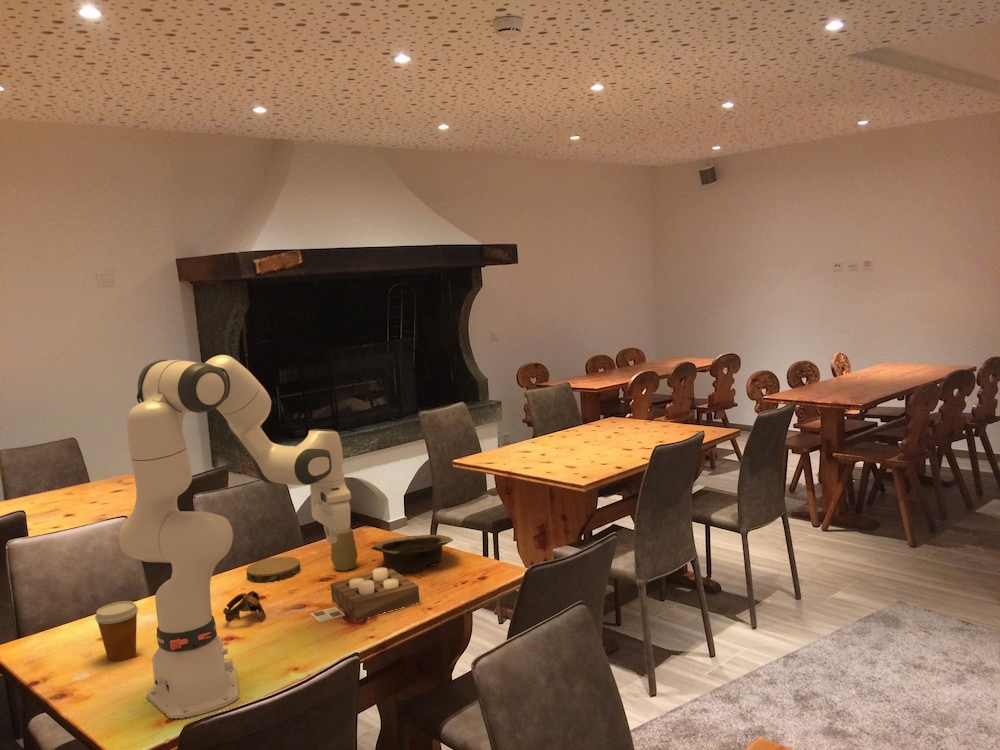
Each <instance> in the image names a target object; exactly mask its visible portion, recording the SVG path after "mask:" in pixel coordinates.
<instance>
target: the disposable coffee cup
mask: <svg viewBox="0 0 1000 750" xmlns="http://www.w3.org/2000/svg"><path fill="white" fill-rule="evenodd" d="M138 611H139V607H138V606H137V604H136V602H134V601H130V600H129V601H128V600H126V601H117V602H113V603H108V604H106V605H103V606H101V607H100V608H98V609H97V610H96V614H95V617H94V620H95V621H96V623H97V624H98V625H97V626H98V628H99V632H100V637H101V638H102V639H101V640H102V643H103V646H104V649H105V654H106V657H107V660H108V661H109V660H110V662H121V661H124V660H129V659H130V658H132V657H133V656H135V655H136V654H137V621H138V620H137V615H138Z"/></svg>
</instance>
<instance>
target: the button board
mask: <svg viewBox="0 0 1000 750" xmlns="http://www.w3.org/2000/svg"><path fill="white" fill-rule="evenodd" d="M387 572H388V579H398V584H399V586H398V587H395V588H391V589H387V590H386V589H384V585H383V581H380V582H377V583H376V582H374V580H373V572H371V573H367V574H364V575H359V576H356V577H351V578H348V579H344V580H340V581H334V582H331V583H330V595H331V602H332V601H333V602H332V603H334V602H335V603H336V604H337V605H338V606H339V608H340V609H341V608H342V609H343V610H344V611H343V610H342V609H341V610H342V611H343V612H344V613H346V614H347V615H348V614H349V615H350V616H349V615H348V616H349V617H350V618H352V619H353V620H354V621H355V620H356V621H355V622H359V620H360V621H362V620H361V619H363V620H367V619H369V618H368V617H370V618H373V617H372V616H374V617H376V616H375V615H378V614H381V615H383V614H382V613H384V612H388V611H391V610H395V609H399V608H402V607H406V606H409V605H412V604H416V603H419V602H420V603H421V601H420V591H419V590H420V589H419V585H418V584H417V583H415V582H414V581H412V580H410V579H409V578H407V577H405V576H404V575H402V573H401V574H399V573H397V572H396V571H394V568H387ZM354 578H363V579H364V581H365V580H371V581H373V582H374V592H375V593H372V594H368V595H365V596H360V595H359V587H357V588H354V589H351V588H350V586H349V581H350V580H351V579H354ZM335 603H334V604H335ZM336 604H335V605H336ZM337 605H336V606H337ZM416 605H417V604H416ZM338 606H337V607H338ZM409 607H410V606H409ZM406 608H407V607H406ZM402 609H403V608H402ZM399 610H400V609H399ZM395 611H396V610H395ZM388 613H389V612H388ZM378 616H379V615H378ZM366 618H367V619H366Z"/></svg>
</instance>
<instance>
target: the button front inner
mask: <svg viewBox="0 0 1000 750" xmlns="http://www.w3.org/2000/svg"><path fill="white" fill-rule="evenodd" d="M358 585H359V595H360V596H365V595H368V594H372V593H375V592H374V582H373V581H371V580H365V581H361V582H359V583H358Z"/></svg>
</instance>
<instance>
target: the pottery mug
mask: <svg viewBox="0 0 1000 750" xmlns="http://www.w3.org/2000/svg"><path fill="white" fill-rule="evenodd" d="M235 605H236V606H235ZM262 606H263V605H261V603H260V595H259V593H257V591H254V590H252V591H251V590H250V591H249V592H247V593H246V592H241V593H239V594H238V595H237V594H236V596H235V597H233V598H232V599H231V600H230V601H229V602H228V603H227V604H226V607H224V608H223V612H222V613H223V614H224V615H225V616H224V617H225V618H224V619H225V621H226V622H229V623H231V622H232V621H233V620H234V619H238V620H240V619H241V618H240V617H241V616H240V612H251V613H252V612H255V613H256V612H258V615H257V617H258V618H259V619H260V622H261V623H263V622H264V621H265V619H266V616H267V615H266V613H265V610H264V608H263V607H262Z"/></svg>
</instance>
